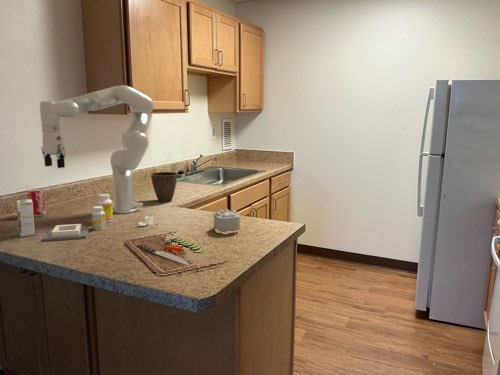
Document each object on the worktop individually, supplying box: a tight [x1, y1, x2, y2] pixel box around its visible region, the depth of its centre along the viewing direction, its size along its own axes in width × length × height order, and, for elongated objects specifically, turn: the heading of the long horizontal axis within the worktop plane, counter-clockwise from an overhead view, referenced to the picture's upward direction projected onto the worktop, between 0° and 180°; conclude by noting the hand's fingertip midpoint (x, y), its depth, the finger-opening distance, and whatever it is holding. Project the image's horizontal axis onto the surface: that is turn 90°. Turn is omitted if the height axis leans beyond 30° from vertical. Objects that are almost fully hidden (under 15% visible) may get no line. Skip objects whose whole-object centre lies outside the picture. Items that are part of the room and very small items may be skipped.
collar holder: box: [42, 223, 90, 242], centre depth 168 cm, size 16×14×3 cm
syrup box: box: [16, 198, 36, 238], centre depth 167 cm, size 6×6×14 cm
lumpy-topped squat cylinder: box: [213, 208, 241, 232], centre depth 177 cm, size 10×13×9 cm
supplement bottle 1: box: [96, 193, 114, 224], centre depth 188 cm, size 7×7×13 cm
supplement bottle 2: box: [91, 205, 107, 231], centre depth 177 cm, size 5×5×10 cm
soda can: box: [27, 188, 47, 218], centre depth 197 cm, size 7×7×13 cm
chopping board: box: [124, 231, 203, 274], centre depth 150 cm, size 45×27×3 cm, turn 33°
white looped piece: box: [137, 215, 156, 227], centre depth 184 cm, size 9×8×4 cm
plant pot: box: [150, 171, 178, 203], centre depth 230 cm, size 15×15×16 cm
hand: (54, 166), depth 183 cm, fingers open, 9 cm apart
